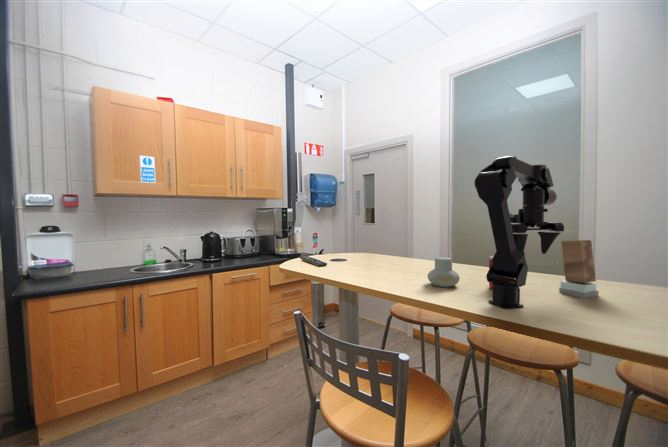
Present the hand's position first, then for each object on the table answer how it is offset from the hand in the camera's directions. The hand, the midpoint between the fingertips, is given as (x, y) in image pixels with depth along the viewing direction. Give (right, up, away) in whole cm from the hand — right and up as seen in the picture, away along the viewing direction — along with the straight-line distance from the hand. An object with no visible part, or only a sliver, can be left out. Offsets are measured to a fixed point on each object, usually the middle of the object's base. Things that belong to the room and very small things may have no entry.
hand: (532, 254), depth 93 cm
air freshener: (-24, -13, +13) cm, 30 cm away
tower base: (+15, -14, +1) cm, 20 cm away
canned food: (-6, -13, +7) cm, 16 cm away
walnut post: (+16, -9, 0) cm, 18 cm away
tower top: (+15, -11, +1) cm, 19 cm away
